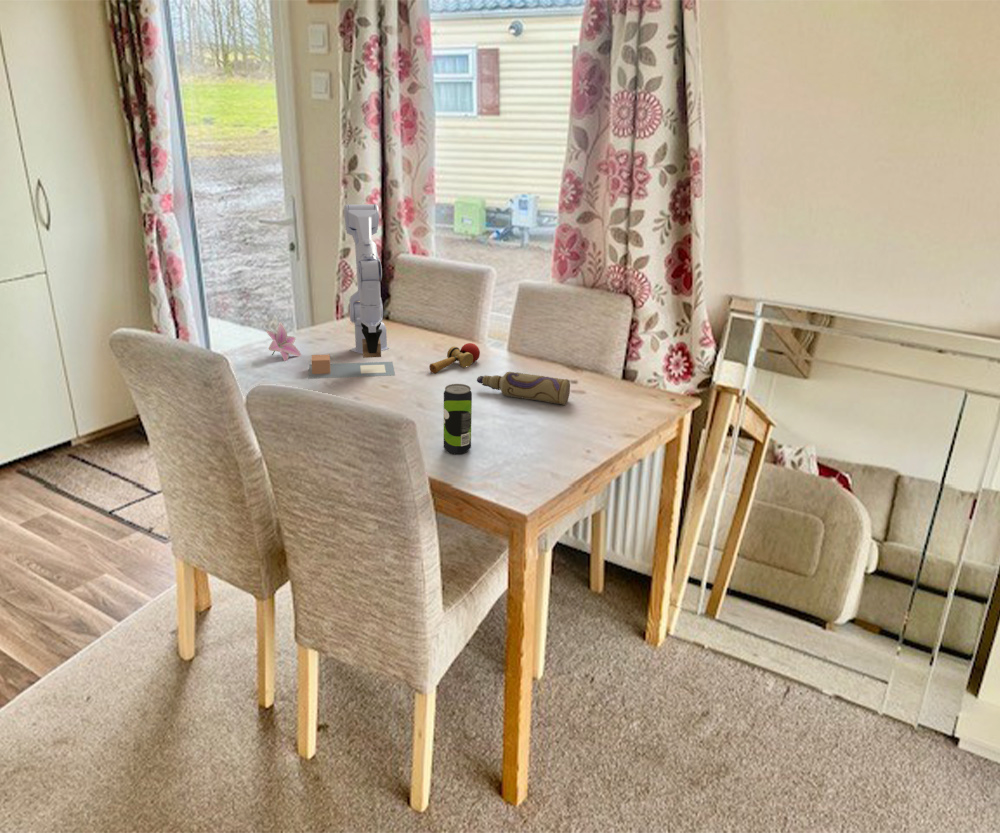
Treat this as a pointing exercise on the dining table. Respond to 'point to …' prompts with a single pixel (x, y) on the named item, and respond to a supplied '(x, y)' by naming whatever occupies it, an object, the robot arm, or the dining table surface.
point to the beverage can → (457, 418)
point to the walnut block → (367, 354)
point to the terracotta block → (320, 364)
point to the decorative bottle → (529, 386)
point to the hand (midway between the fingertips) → (372, 349)
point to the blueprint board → (356, 370)
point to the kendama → (458, 357)
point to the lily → (283, 342)
